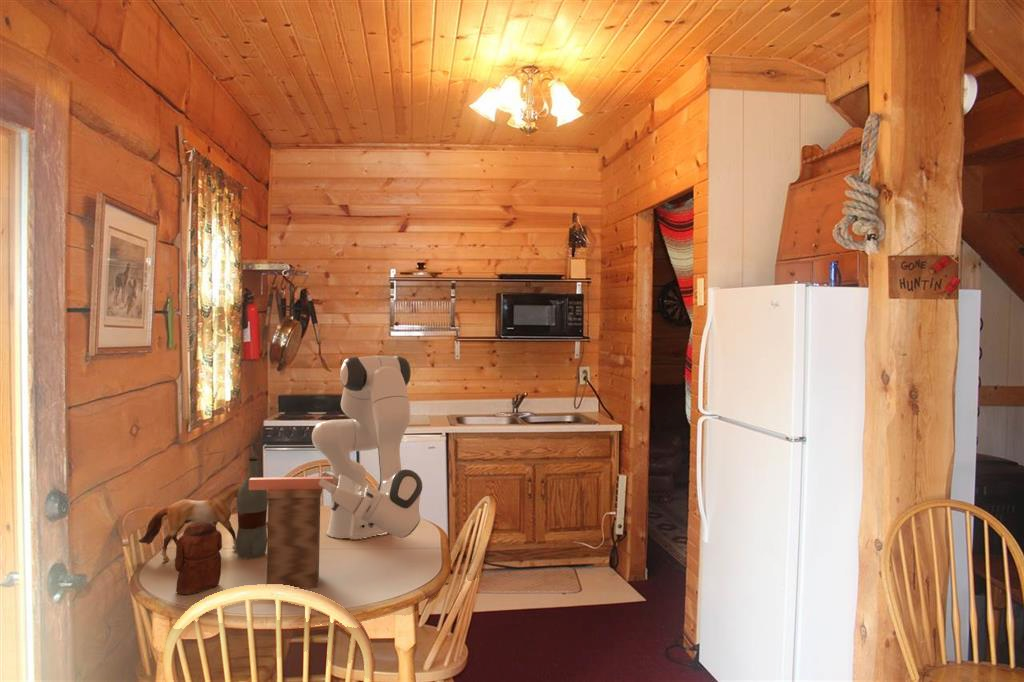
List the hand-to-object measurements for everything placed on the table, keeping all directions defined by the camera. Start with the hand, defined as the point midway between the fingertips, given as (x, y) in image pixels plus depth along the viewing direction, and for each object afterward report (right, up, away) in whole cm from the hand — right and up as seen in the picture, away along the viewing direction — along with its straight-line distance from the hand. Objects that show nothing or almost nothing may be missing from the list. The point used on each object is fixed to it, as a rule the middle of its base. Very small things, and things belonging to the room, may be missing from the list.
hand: (320, 477), depth 205 cm
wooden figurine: (-31, -28, -7) cm, 43 cm away
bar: (-8, -3, -1) cm, 8 cm away
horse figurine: (-45, -28, +24) cm, 58 cm away
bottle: (-27, -28, +23) cm, 45 cm away
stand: (-7, -29, -1) cm, 30 cm away
